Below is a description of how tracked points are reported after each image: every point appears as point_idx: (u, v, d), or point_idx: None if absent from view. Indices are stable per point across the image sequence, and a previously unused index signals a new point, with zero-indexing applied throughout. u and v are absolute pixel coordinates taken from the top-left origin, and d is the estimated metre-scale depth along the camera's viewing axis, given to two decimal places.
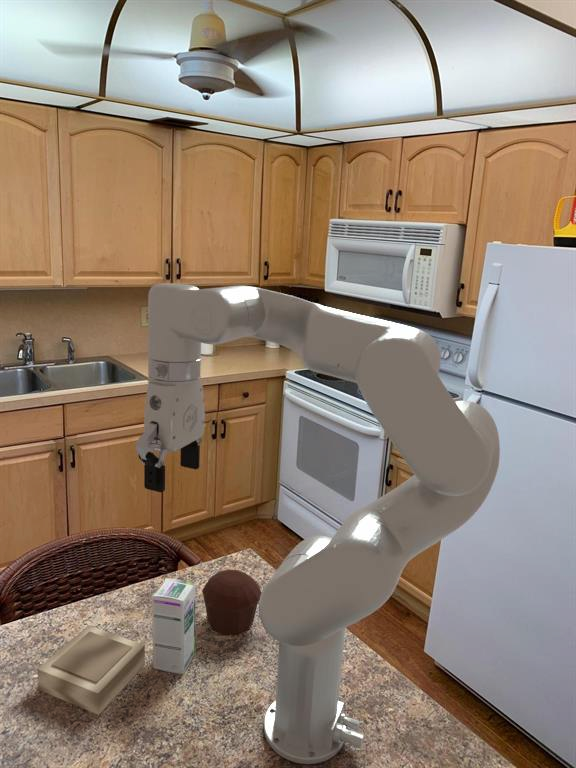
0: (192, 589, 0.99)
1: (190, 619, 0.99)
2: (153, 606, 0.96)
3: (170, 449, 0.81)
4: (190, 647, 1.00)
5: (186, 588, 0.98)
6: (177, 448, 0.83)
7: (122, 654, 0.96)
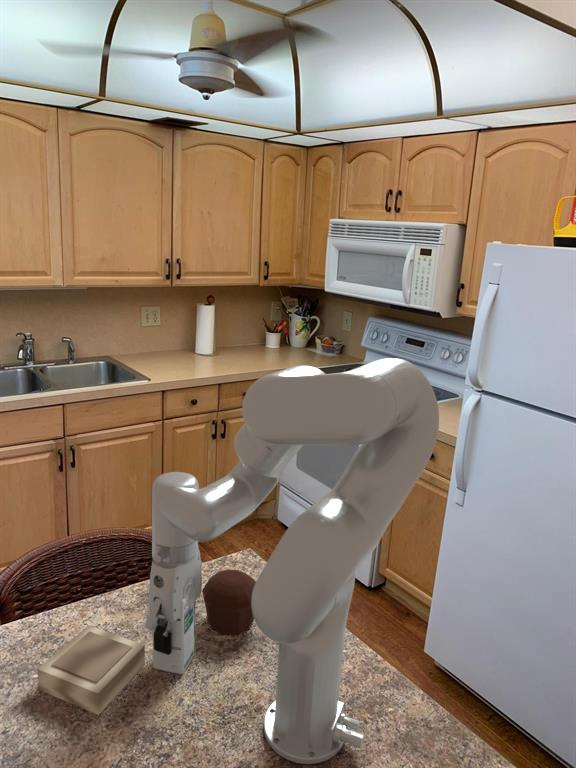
0: None
1: (190, 619, 0.99)
2: None
3: (171, 620, 0.93)
4: (190, 647, 1.00)
5: None
6: (177, 617, 0.94)
7: (122, 654, 0.96)
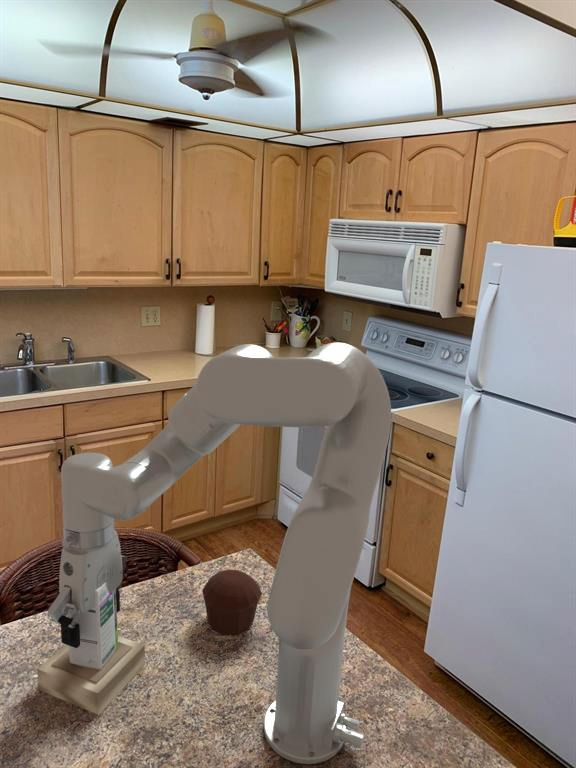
0: None
1: (109, 611, 0.93)
2: None
3: (83, 610, 0.87)
4: (110, 640, 0.94)
5: None
6: (90, 607, 0.89)
7: (122, 654, 0.96)
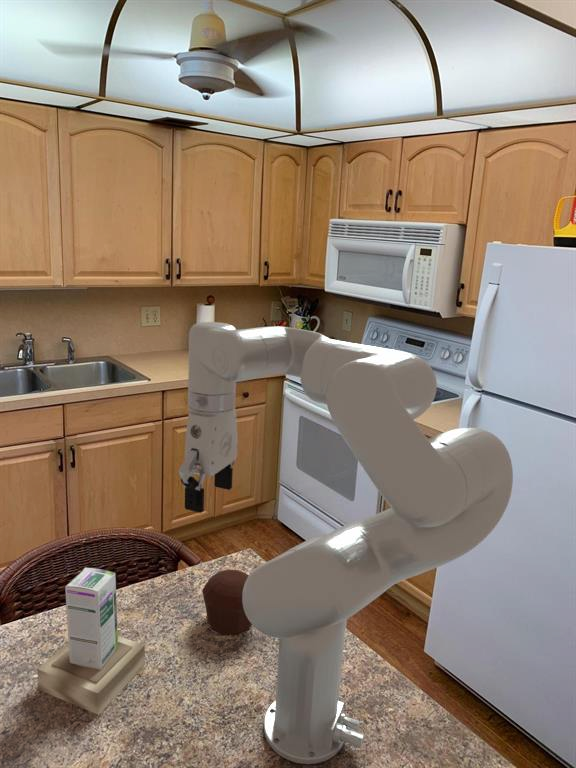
0: (111, 579, 0.93)
1: (109, 611, 0.93)
2: (67, 596, 0.90)
3: (209, 473, 0.89)
4: (110, 640, 0.94)
5: (103, 578, 0.92)
6: (215, 472, 0.91)
7: (122, 654, 0.96)
